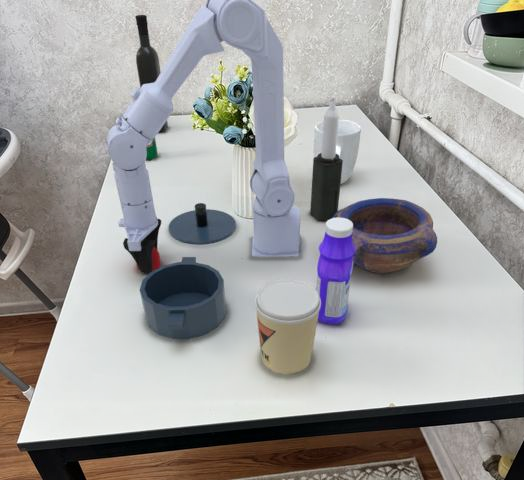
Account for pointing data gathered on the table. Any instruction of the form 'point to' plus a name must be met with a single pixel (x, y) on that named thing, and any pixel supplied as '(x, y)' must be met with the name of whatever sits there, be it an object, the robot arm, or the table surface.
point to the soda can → (151, 150)
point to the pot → (183, 299)
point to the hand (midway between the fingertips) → (149, 264)
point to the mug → (342, 144)
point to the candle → (327, 170)
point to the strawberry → (155, 259)
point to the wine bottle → (147, 58)
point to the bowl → (389, 233)
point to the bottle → (335, 270)
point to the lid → (202, 226)
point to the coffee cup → (287, 324)
